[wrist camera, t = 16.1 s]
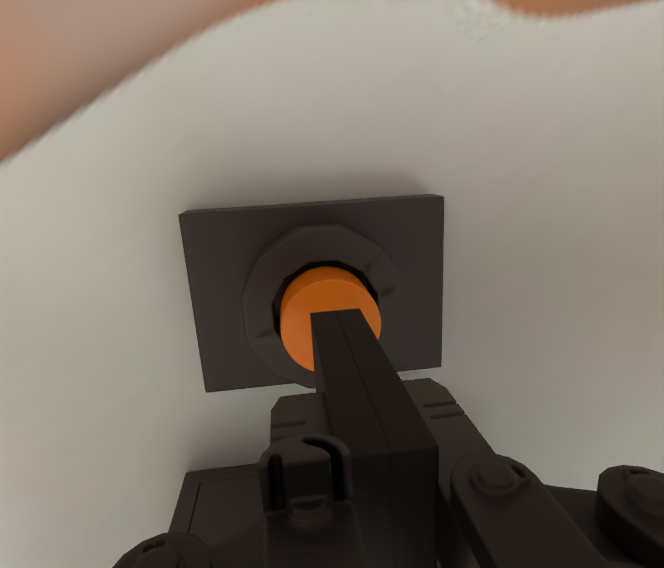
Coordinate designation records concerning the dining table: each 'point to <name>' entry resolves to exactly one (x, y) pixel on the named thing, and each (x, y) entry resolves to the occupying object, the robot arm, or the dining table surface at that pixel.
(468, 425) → the robot arm
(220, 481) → the dark grey box
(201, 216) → the control block
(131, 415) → the dining table surface
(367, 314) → the button
